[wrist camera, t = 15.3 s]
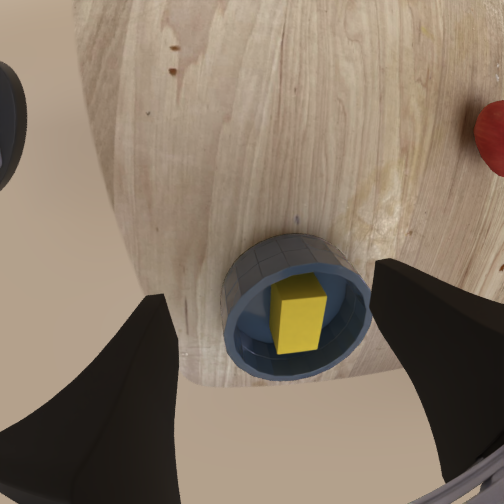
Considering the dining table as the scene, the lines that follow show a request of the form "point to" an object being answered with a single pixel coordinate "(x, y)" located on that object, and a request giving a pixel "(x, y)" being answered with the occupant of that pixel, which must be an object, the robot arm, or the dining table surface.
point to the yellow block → (297, 313)
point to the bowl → (259, 297)
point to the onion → (491, 136)
